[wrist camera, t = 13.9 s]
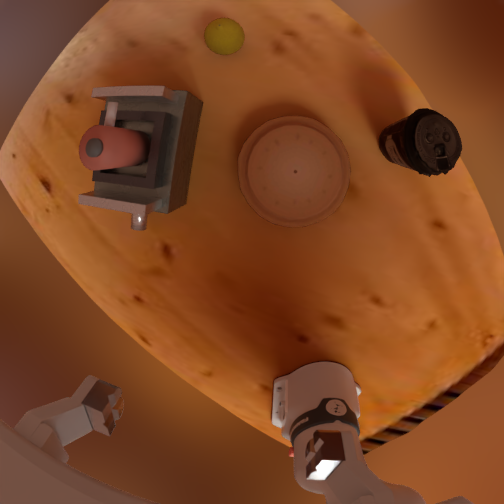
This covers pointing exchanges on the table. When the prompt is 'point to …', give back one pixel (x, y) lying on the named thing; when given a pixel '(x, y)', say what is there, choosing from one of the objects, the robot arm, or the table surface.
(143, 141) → the pink cylinder with stub
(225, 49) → the lemon
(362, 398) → the table surface
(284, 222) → the pie
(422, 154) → the coffee cup
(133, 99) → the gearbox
